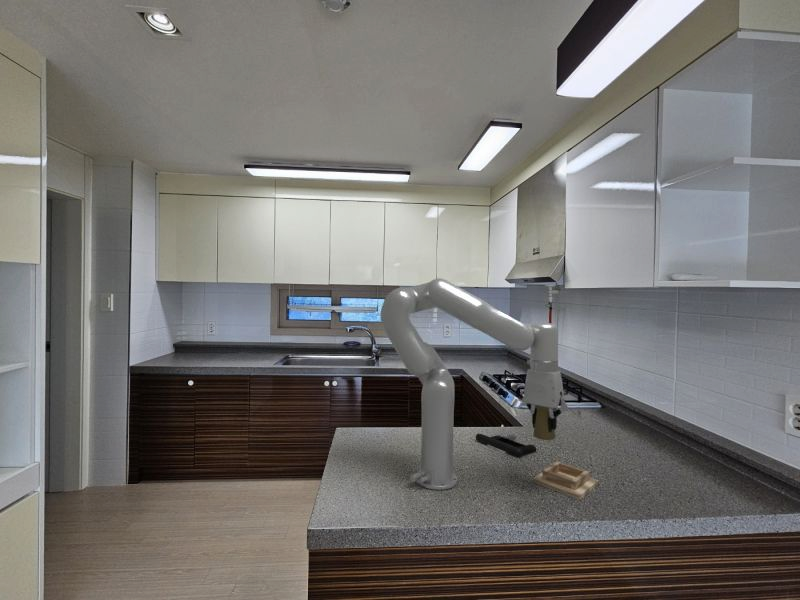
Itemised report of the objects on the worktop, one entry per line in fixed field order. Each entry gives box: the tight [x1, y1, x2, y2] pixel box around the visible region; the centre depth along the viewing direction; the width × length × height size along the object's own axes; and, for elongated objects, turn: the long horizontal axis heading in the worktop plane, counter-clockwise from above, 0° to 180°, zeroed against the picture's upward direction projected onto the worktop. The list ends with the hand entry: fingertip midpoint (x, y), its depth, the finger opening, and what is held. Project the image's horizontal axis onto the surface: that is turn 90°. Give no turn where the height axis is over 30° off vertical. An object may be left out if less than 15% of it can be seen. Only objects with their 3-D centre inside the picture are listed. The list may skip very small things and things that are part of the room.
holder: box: [532, 461, 600, 501], centre depth 122 cm, size 14×14×4 cm
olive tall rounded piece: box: [532, 405, 556, 441], centre depth 117 cm, size 6×6×11 cm
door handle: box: [475, 433, 537, 458], centre depth 151 cm, size 3×20×16 cm
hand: (544, 428), depth 117 cm, fingers closed on olive tall rounded piece, 4 cm apart
